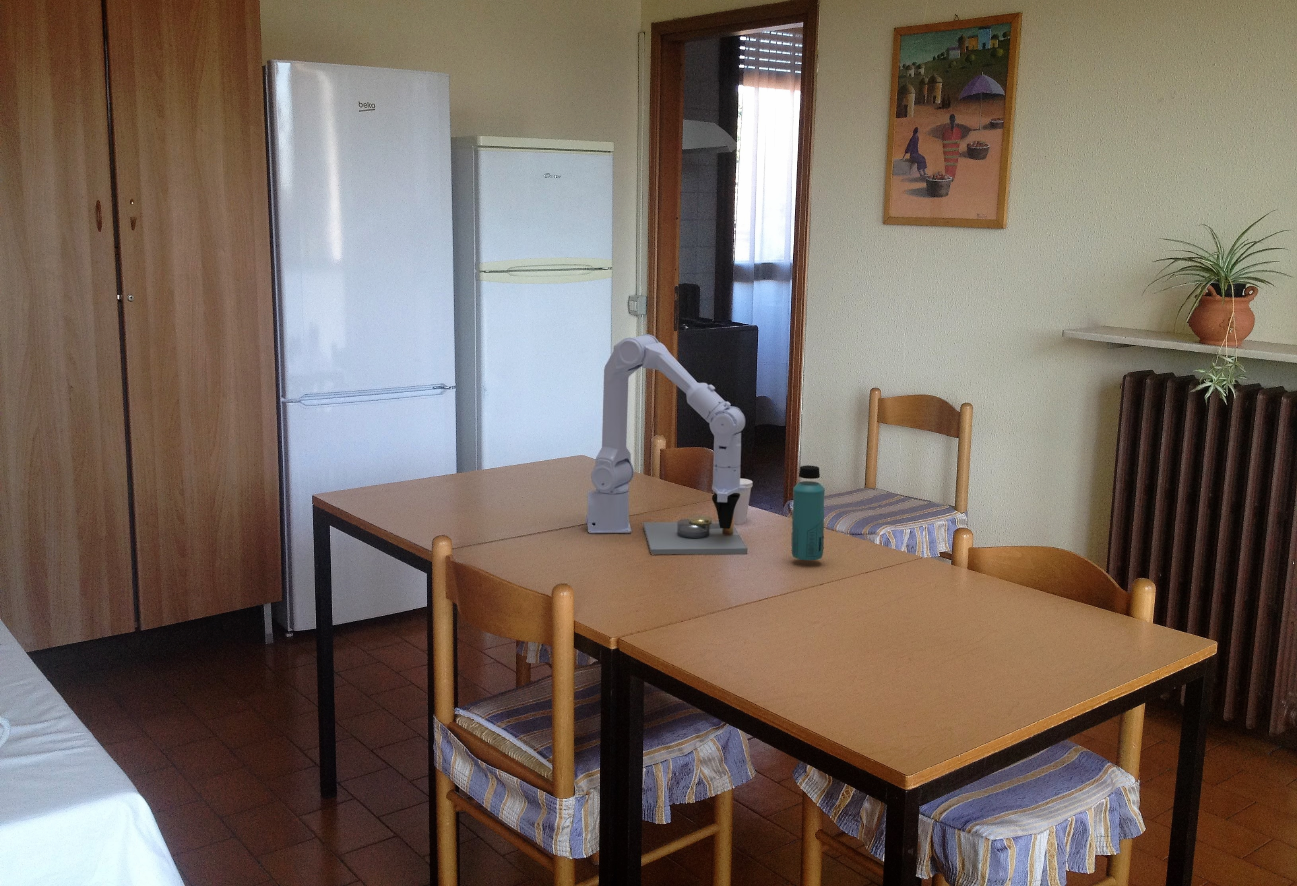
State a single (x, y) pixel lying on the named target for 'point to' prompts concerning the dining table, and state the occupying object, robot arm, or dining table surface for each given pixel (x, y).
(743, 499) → the smoothie
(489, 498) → the dining table surface
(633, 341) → the robot arm
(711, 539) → the stand
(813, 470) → the beverage bottle
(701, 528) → the crank
